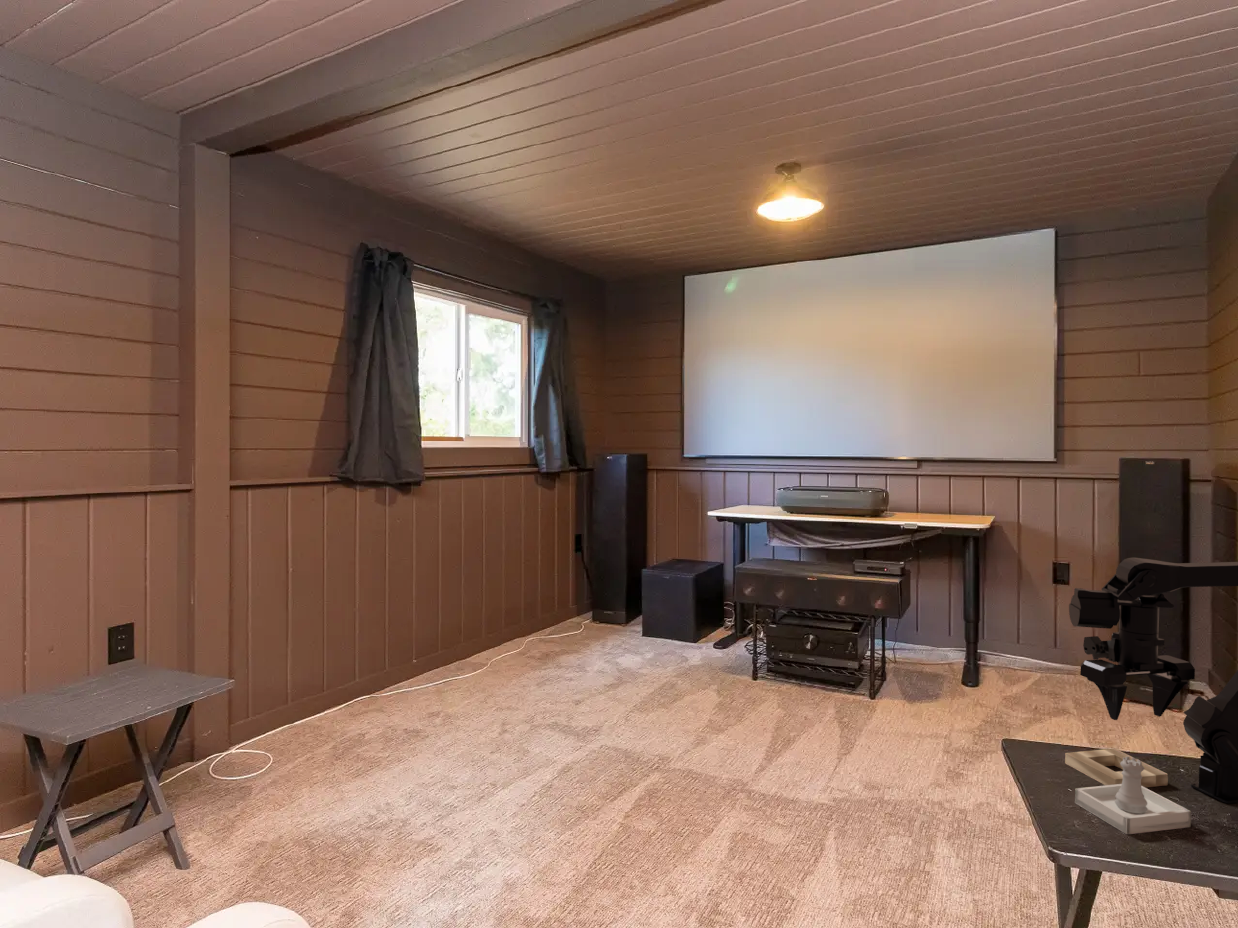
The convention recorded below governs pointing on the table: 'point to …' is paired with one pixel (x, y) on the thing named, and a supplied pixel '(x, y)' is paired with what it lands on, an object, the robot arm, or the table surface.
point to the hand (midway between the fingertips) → (1135, 717)
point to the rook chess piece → (1131, 788)
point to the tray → (1154, 819)
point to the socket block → (1098, 759)
